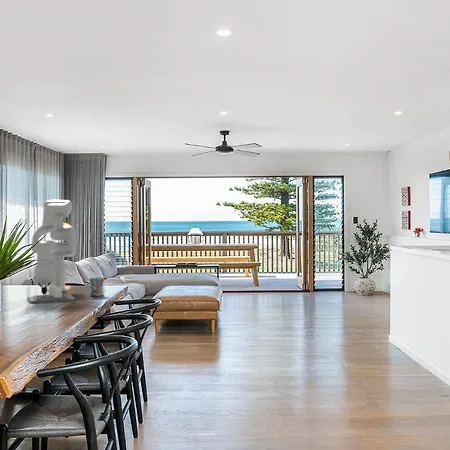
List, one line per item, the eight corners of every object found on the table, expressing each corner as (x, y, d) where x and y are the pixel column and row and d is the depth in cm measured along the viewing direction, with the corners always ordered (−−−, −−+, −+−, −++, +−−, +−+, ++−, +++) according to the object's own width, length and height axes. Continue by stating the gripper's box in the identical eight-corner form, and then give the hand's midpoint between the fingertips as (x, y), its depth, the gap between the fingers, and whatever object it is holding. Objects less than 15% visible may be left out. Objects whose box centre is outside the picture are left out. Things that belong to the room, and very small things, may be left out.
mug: (89, 295, 320) (89, 277, 320) (105, 294, 322) (105, 277, 322) (87, 297, 309) (87, 280, 308) (103, 297, 310) (103, 279, 310)
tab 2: (53, 297, 298) (53, 286, 298) (60, 297, 300) (60, 285, 300) (54, 298, 295) (54, 286, 294) (61, 298, 296) (61, 286, 296)
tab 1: (48, 296, 305) (48, 284, 304) (55, 295, 306) (55, 284, 306) (49, 297, 301) (49, 285, 301) (56, 296, 303) (56, 285, 303)
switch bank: (27, 299, 302) (27, 295, 302) (69, 296, 313) (69, 292, 313) (30, 304, 286) (30, 299, 286) (75, 300, 297) (75, 296, 297)
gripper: (56, 261, 308) (56, 292, 308) (29, 262, 301) (29, 294, 302) (58, 262, 301) (58, 294, 301) (31, 263, 295) (31, 295, 295)
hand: (44, 294), depth 302 cm, fingers closed
